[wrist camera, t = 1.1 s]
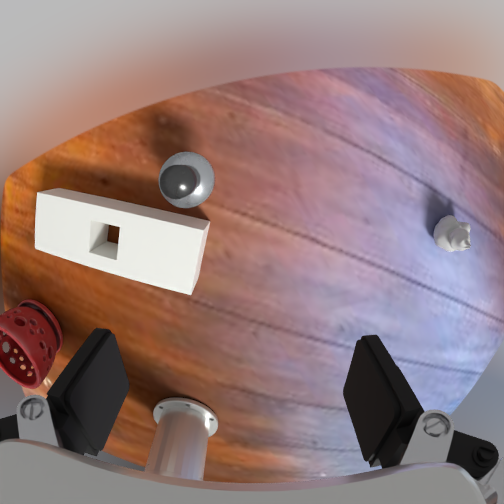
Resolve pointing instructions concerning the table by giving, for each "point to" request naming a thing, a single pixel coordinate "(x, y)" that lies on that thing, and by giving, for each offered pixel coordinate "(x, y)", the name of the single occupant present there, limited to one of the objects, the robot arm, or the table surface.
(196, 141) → the table surface
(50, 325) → the plant pot
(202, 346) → the table surface
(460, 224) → the grey rounded lumpy piece
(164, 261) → the bar
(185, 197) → the silver and black post
